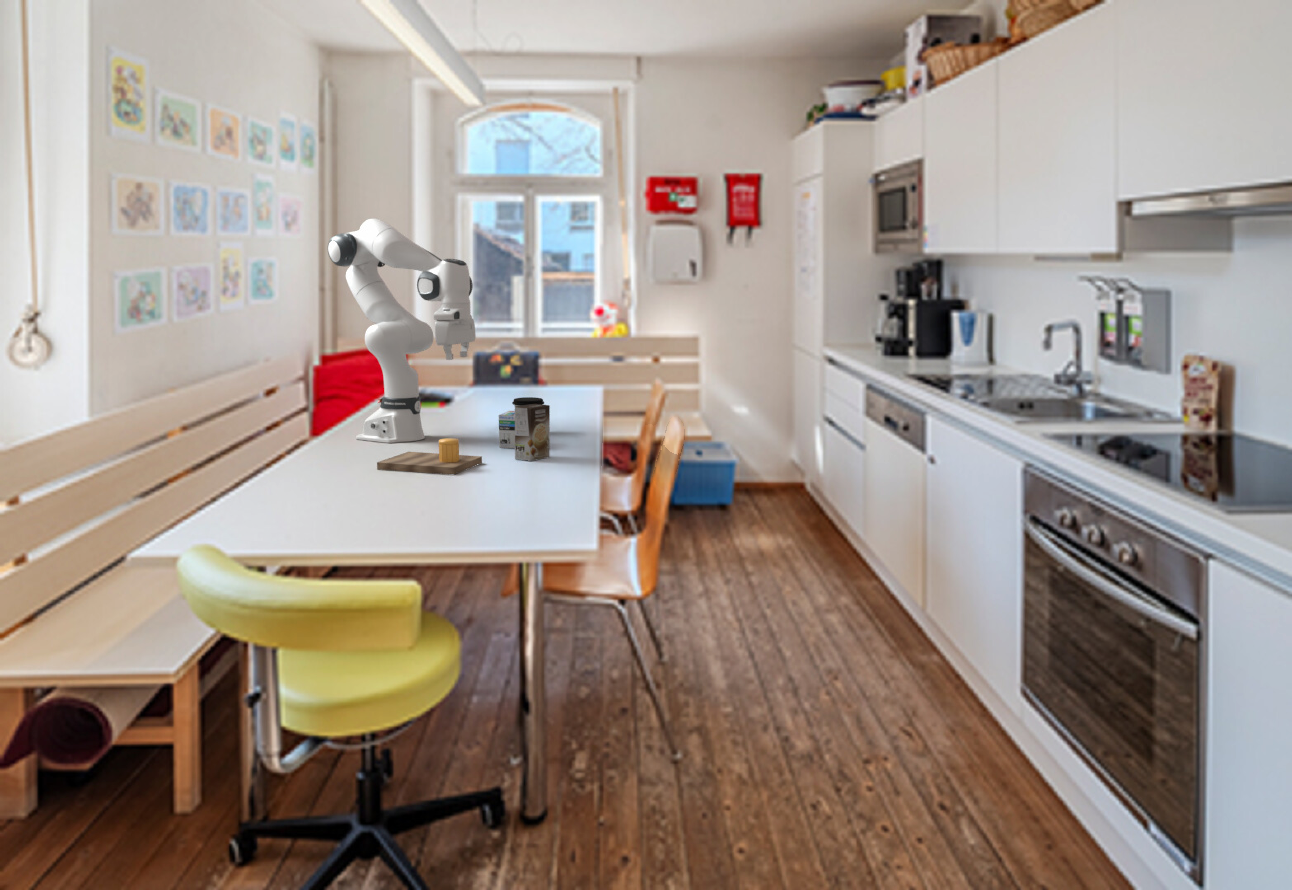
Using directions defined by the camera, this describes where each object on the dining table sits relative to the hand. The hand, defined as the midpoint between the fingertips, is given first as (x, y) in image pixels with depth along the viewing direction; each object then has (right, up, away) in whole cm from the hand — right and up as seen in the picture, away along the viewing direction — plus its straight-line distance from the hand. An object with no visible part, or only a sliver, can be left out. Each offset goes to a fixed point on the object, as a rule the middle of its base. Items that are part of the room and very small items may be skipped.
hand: (456, 358), depth 314 cm
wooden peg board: (-4, -33, -18) cm, 38 cm away
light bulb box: (+16, -27, +16) cm, 35 cm away
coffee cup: (+18, -23, +40) cm, 49 cm away
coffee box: (+24, -31, -5) cm, 39 cm away
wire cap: (+2, -31, -20) cm, 37 cm away
